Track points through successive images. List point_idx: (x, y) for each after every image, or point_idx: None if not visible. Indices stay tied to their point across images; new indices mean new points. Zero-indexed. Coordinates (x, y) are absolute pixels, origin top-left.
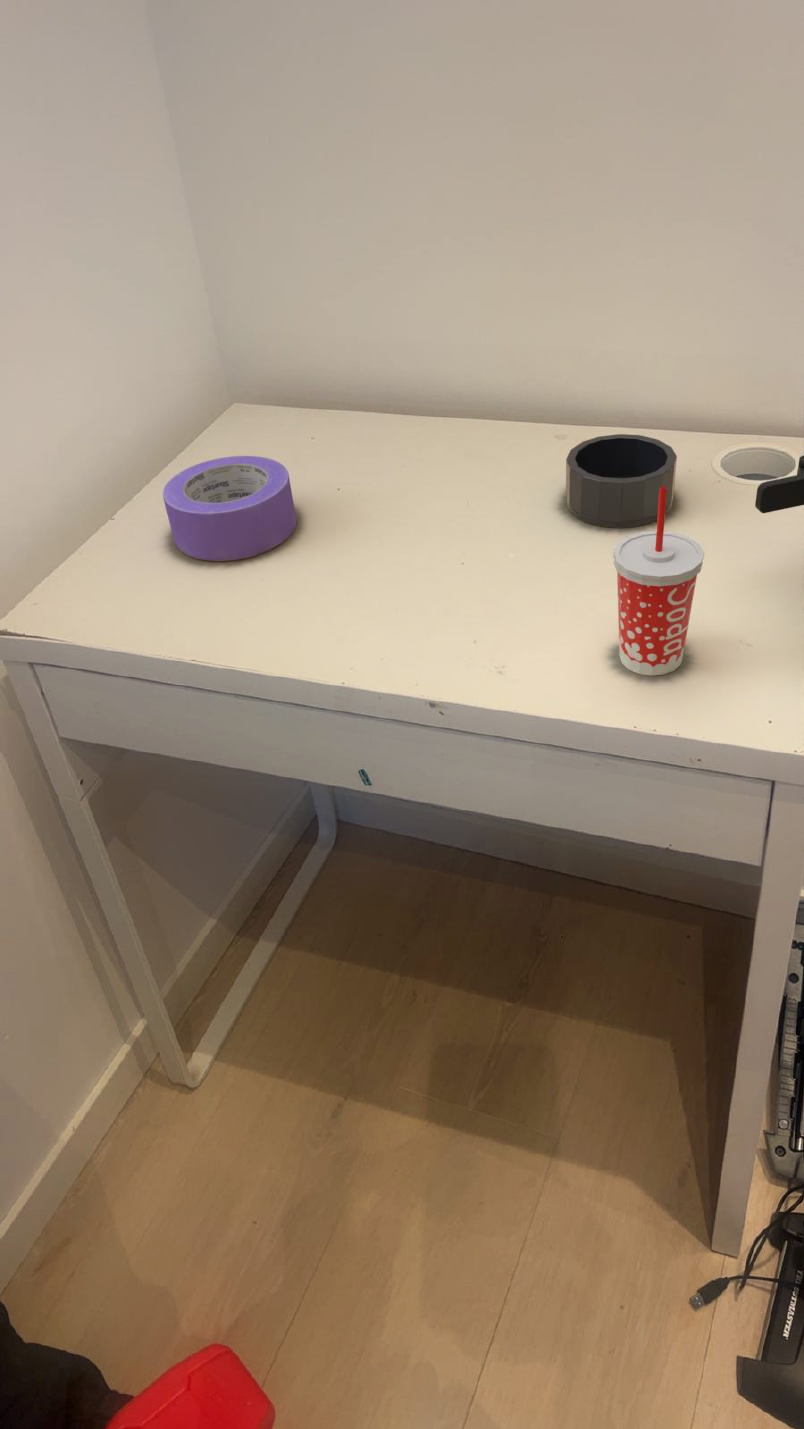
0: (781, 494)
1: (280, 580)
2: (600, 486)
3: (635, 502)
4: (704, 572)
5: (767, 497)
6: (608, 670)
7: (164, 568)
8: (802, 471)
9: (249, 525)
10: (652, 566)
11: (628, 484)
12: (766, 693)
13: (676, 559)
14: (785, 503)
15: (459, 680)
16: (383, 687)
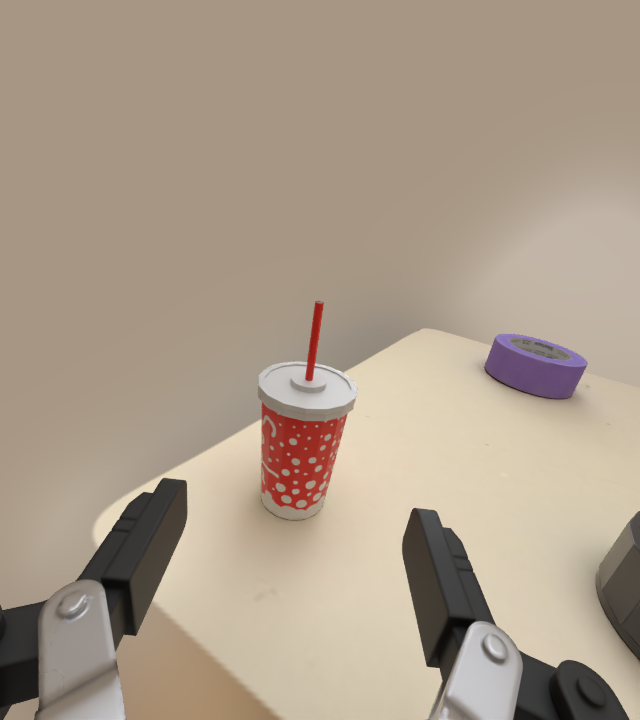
0: (419, 562)
1: (463, 378)
2: (624, 529)
3: (630, 591)
4: None
5: (411, 533)
6: None
7: (478, 356)
8: (521, 655)
9: (499, 357)
10: (288, 374)
11: (637, 555)
12: None
13: (289, 388)
14: (416, 594)
15: None
16: None
